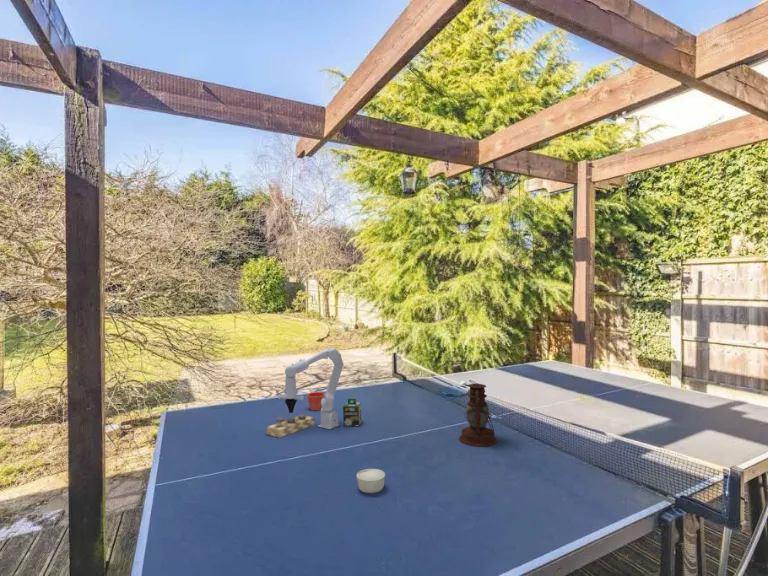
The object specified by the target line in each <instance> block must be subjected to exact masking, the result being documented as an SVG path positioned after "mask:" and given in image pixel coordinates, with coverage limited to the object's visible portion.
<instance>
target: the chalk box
mask: <svg viewBox="0 0 768 576" xmlns="http://www.w3.org/2000/svg"><path fill="white" fill-rule="evenodd" d="M342 411H343V412H342V414H343V415H342V416H343V426H344V425H347V426H346V427H356V426H355V425H359V426H361V423H362V422H363V421H362V402H361V401H357V400H356V398H347V401H346V402H345V403H344V405H343V406H342ZM349 425H350V426H349ZM352 425H354V426H352Z"/></svg>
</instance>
